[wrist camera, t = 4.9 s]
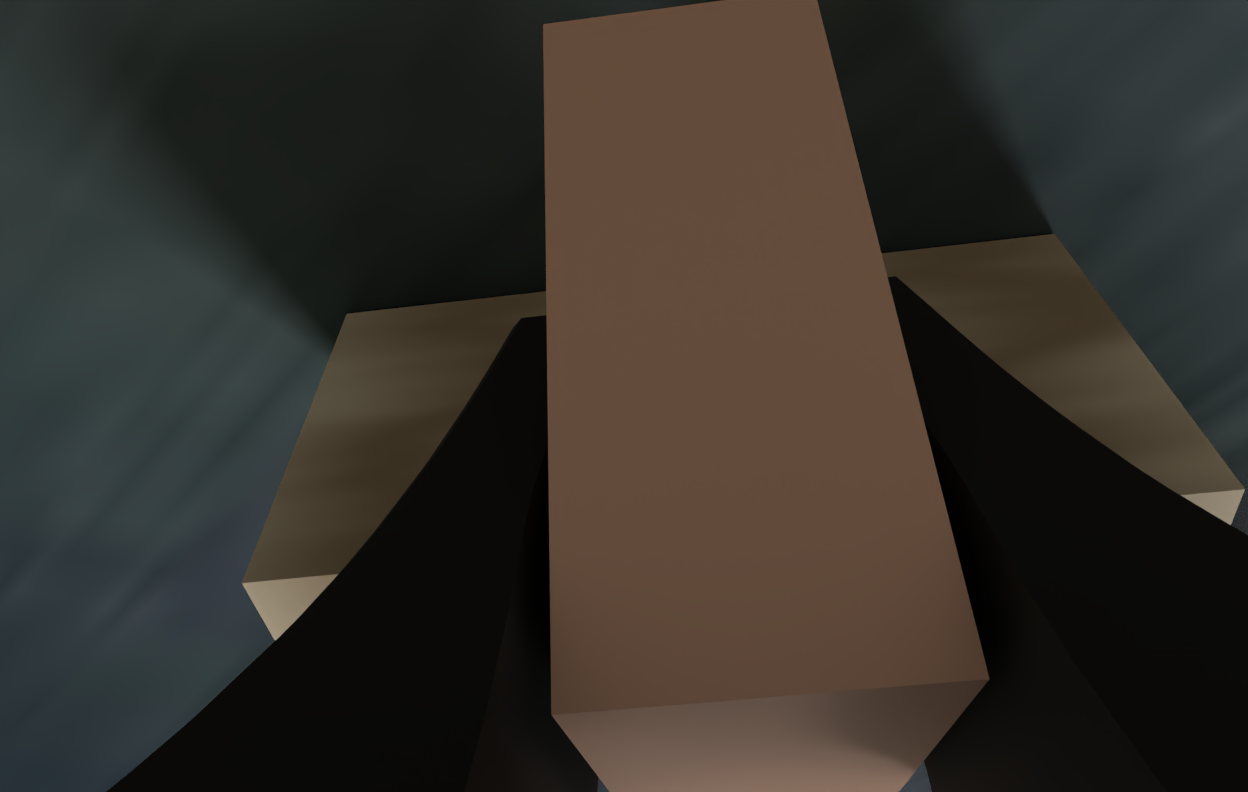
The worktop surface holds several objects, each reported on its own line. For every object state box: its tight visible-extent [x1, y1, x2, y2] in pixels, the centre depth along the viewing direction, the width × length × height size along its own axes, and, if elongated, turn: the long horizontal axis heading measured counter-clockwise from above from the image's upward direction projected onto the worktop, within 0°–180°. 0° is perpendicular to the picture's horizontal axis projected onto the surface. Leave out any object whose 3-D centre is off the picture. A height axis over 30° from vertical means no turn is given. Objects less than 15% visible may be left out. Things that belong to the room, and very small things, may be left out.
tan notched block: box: [242, 234, 1245, 641], centre depth 14 cm, size 12×2×6 cm, turn 97°
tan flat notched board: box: [543, 0, 989, 792], centre depth 12 cm, size 12×2×6 cm, turn 7°
